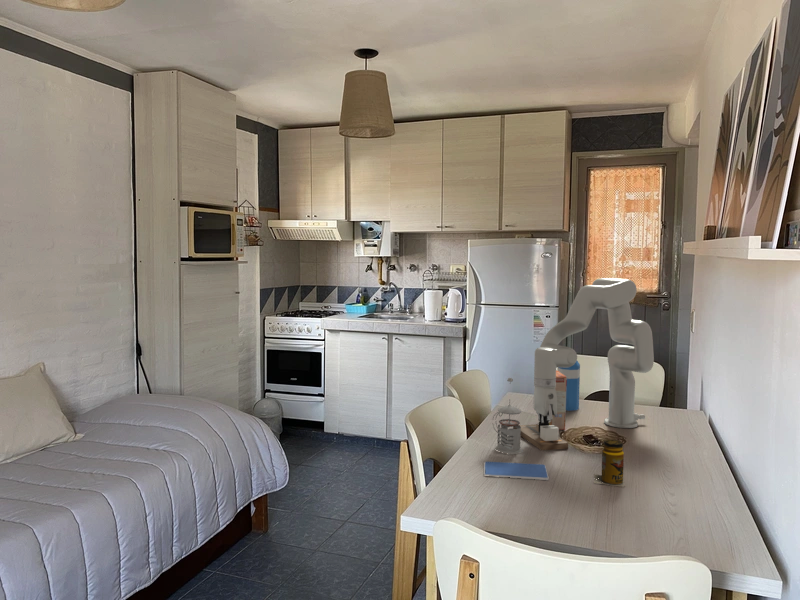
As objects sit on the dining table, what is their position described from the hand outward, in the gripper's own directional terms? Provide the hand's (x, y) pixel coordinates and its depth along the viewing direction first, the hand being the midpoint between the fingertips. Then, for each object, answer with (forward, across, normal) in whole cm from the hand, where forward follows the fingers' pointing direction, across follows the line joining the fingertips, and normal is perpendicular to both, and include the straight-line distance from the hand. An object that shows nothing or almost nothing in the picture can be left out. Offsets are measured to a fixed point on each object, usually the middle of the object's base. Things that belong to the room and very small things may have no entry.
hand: (543, 432), depth 213 cm
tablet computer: (+4, -26, +22) cm, 34 cm away
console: (+3, +3, 0) cm, 5 cm away
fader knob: (+1, -4, 0) cm, 4 cm away
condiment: (+4, -39, -2) cm, 39 cm away
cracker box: (+4, +20, -14) cm, 24 cm away
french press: (+4, -5, +16) cm, 17 cm away
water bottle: (+4, +44, -33) cm, 55 cm away
